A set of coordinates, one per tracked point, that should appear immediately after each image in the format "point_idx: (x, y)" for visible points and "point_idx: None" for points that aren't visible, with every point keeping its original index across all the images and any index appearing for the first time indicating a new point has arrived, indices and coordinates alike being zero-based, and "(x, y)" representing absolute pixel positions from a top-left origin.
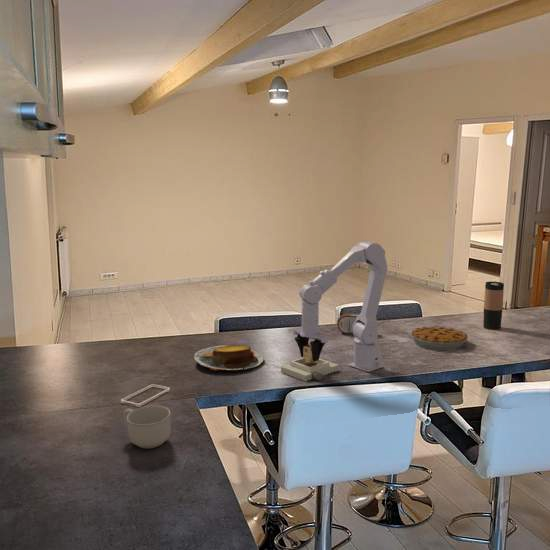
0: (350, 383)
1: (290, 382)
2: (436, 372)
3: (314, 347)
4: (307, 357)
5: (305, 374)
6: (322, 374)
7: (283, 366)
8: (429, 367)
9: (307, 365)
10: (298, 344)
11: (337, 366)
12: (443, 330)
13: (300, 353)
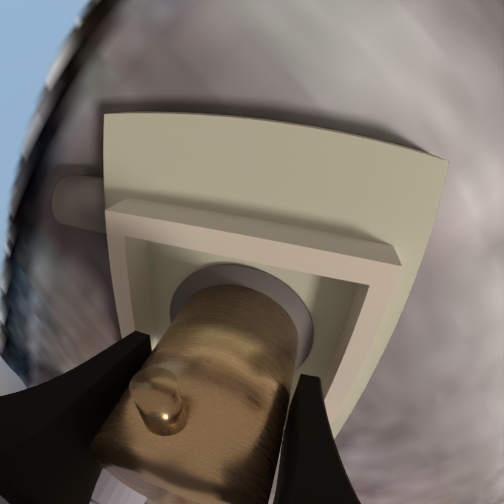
0: (17, 258)
1: (202, 16)
2: None
3: (2, 400)
4: (181, 345)
5: (121, 134)
6: (59, 222)
7: (433, 182)
8: None
9: (213, 293)
10: (333, 500)
11: None
12: None
13: (322, 402)
